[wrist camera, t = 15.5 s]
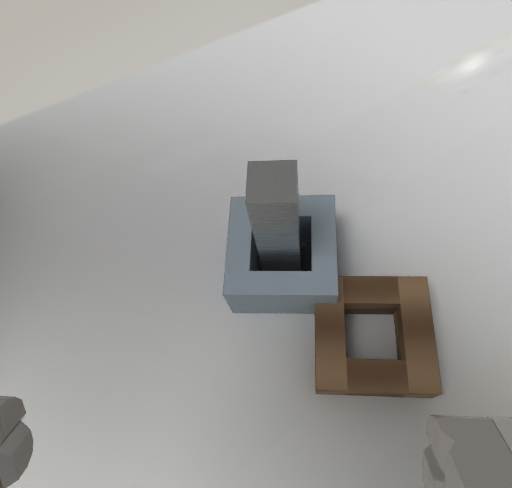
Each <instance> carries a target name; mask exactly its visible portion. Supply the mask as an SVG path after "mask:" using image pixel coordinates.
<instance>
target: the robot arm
mask: <svg viewBox="0 0 512 488" xmlns="http://www.w3.org/2000/svg"><path fill="white" fill-rule="evenodd" d="M25 414H26V411H25V408H24V405H23V401H22V400H21V399H19V398H16V397H11V396H0V488H7V487H8V486H10V485H11V484H13V483H14V482H16V481H17V480H19V478H20V477H21V475H22V474H23V472H24V471H25V470H26V468H27V466H28V464H29V461H30V458H31V455H32V452H33V437H32V433H31V430H30V429H29V428H28V427H27V426H26V425H25V424H24V423H23V422H22V419H23V418H24V416H25ZM426 433H427V436H428V439H429V441H430V444H431V445H430V446H428V447H427V448H426V449H425V450H424V453H423V464H422V467H423V482H424V487H425V488H512V417H469V416H442V415H430V417H429V419H428V423H427V430H426Z"/></svg>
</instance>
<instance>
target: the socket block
mask: <svg viewBox="0 0 512 488" xmlns="http://www.w3.org/2000/svg"><path fill="white" fill-rule="evenodd" d="M344 314H394V323H395V334H396V345H397V356H398V360H381V359H346V340H345V316H344ZM315 378H316V394H336V395H364V396H391V397H418V398H433V397H435V396H438V395H440V394H442V386H441V379H440V371H439V364H438V356H437V349H436V341H435V334H434V326H433V319H432V311H431V304H430V296H429V288H428V281H427V277H393V276H338V300H337V303H315Z"/></svg>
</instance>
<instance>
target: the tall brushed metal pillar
mask: <svg viewBox="0 0 512 488" xmlns="http://www.w3.org/2000/svg"><path fill="white" fill-rule="evenodd" d="M245 205H246V208H247V212H248V216H249V220H250V224H251V227H252V231H253V235H254V239H255V243H256V247H257V250H258V254H259V258H260V262H261V266H262V270H263V271H301V242H300V219H299V195H298V172H297V160H278V161H248V168H247V184H246V200H245Z"/></svg>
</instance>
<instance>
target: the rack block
mask: <svg viewBox="0 0 512 488" xmlns="http://www.w3.org/2000/svg"><path fill="white" fill-rule="evenodd" d="M245 200H246V197H231V203H230V215H229V227H228V239H227V251H226V263H225V275H224V286H223V296H224V297H225V299H226V301H227V303H228V305H229V306H230V308H231V310H232V312H233V313H305V314H315V303H337V300H338V270H337V243H336V217H335V195H311V196H299V219H300V242H311V271H257V265H258V250H257V247H256V243H255V239H254V235H253V231H252V227H251V224H250V220H249V216H248V212H247V208H246V205H245Z"/></svg>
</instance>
